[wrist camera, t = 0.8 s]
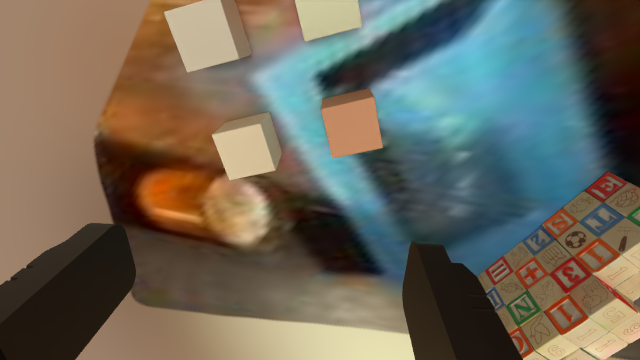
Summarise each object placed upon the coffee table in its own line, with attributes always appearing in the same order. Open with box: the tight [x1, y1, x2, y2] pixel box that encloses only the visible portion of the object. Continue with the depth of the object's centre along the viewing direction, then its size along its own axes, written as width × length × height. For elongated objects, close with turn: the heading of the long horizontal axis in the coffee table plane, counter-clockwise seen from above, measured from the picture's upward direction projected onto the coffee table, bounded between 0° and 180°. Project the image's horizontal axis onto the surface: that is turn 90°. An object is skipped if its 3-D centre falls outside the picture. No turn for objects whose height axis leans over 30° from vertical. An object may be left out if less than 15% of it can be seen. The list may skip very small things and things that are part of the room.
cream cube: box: [212, 112, 282, 180], centre depth 35 cm, size 5×5×5 cm
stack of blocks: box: [478, 172, 640, 360], centre depth 36 cm, size 21×6×12 cm, turn 145°
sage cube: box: [295, 0, 362, 41], centre depth 29 cm, size 5×5×5 cm
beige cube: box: [164, 0, 252, 72], centre depth 30 cm, size 5×5×5 cm
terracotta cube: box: [321, 88, 383, 158], centre depth 33 cm, size 5×5×5 cm
